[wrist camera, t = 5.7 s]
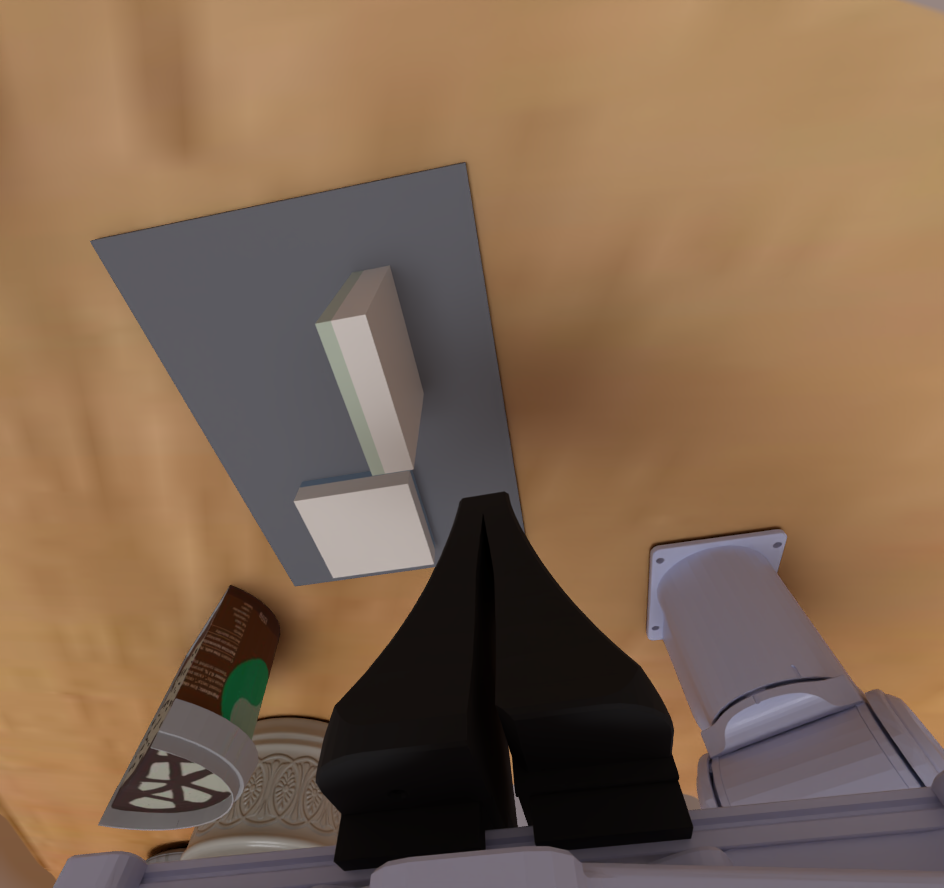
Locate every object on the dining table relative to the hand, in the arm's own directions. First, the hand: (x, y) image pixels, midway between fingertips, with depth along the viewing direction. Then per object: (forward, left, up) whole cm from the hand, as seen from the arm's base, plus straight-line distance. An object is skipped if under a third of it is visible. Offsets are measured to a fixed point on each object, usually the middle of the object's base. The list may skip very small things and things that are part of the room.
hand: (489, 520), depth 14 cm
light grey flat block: (-8, +4, -9) cm, 13 cm away
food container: (-18, +20, -11) cm, 28 cm away
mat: (-2, +7, -10) cm, 13 cm away
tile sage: (+2, +4, -10) cm, 11 cm away
